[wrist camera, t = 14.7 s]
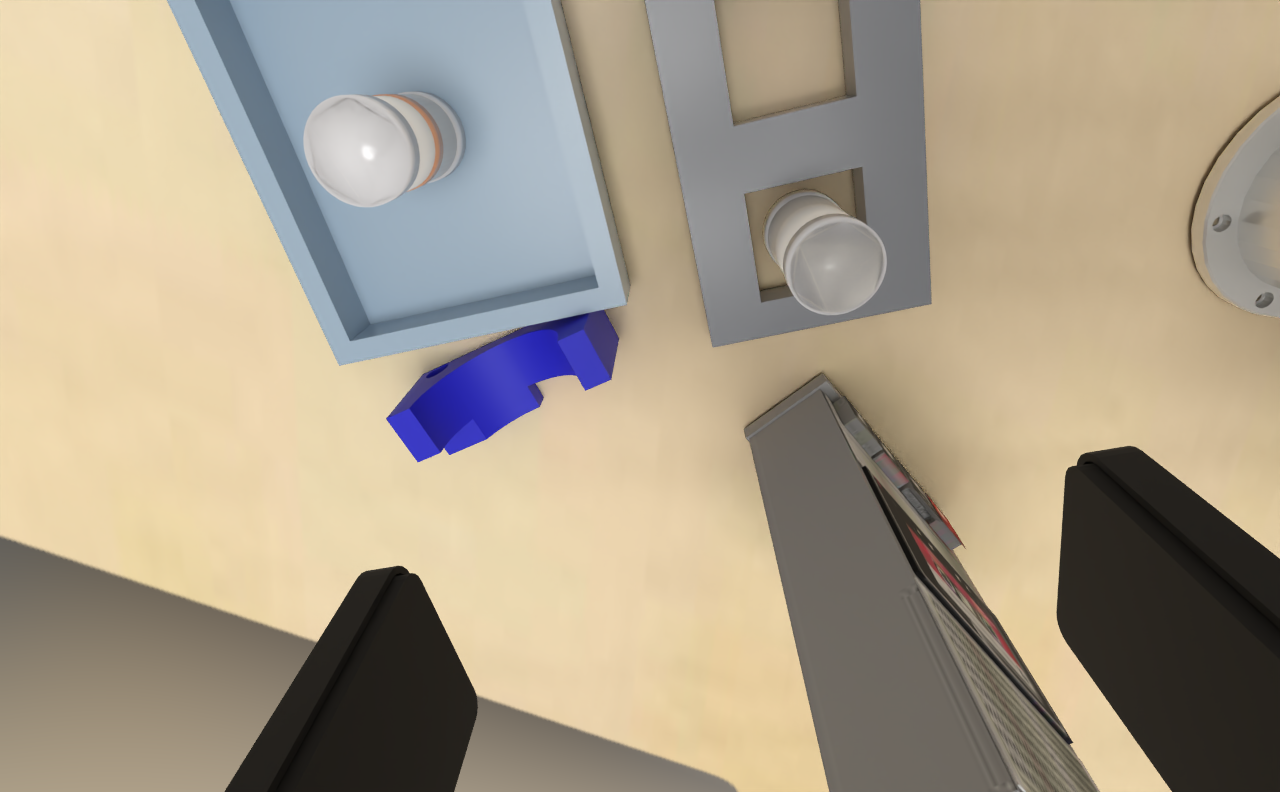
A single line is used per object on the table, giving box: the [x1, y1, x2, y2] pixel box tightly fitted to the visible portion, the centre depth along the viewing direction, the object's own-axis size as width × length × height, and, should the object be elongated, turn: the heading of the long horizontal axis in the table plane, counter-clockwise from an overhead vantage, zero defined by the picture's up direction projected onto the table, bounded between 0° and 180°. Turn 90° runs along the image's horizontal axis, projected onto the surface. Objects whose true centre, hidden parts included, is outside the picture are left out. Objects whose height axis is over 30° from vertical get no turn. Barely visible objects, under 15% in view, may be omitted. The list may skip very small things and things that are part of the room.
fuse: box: [763, 190, 887, 315], centre depth 31 cm, size 4×4×8 cm
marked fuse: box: [303, 91, 466, 207], centre depth 29 cm, size 4×4×8 cm
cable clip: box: [386, 310, 619, 462], centre depth 37 cm, size 12×4×6 cm, turn 116°
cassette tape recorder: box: [744, 373, 1100, 792], centre depth 30 cm, size 14×6×25 cm, turn 42°
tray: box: [167, 0, 630, 366], centre depth 32 cm, size 16×20×4 cm
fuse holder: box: [645, 0, 931, 347], centre depth 30 cm, size 12×28×2 cm, turn 13°
